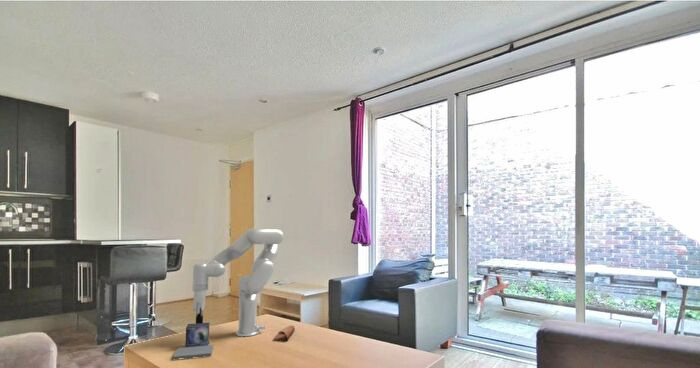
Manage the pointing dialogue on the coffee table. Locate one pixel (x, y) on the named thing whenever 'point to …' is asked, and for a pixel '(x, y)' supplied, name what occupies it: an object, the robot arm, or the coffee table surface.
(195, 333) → the small box
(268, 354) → the coffee table surface
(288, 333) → the sunglasses case
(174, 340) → the coffee table surface
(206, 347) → the rubber pad
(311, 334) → the coffee table surface
